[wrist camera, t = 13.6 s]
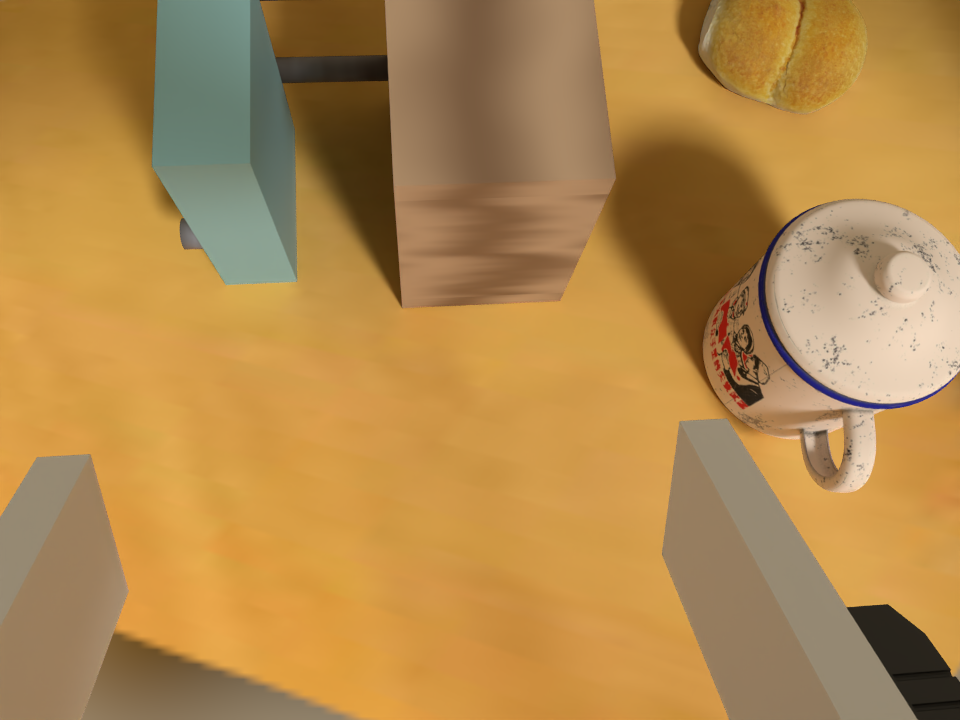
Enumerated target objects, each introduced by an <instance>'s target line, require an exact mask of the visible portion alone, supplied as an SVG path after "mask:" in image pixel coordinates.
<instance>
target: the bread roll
mask: <svg viewBox="0 0 960 720" xmlns="http://www.w3.org/2000/svg"><path fill="white" fill-rule="evenodd" d="M867 45H868V44H867V29H866V26H865V23H864V20H863V18H862V16H861V14H860V12H859V11H858V9H857V8H856V7H855V5H854V4H853V3H852V2H851V0H712V1H711V3H710V5H709V8H708V11H707V14H706V17H705V19H704V22H703V26H702V31H701V34H700V43H699V45H698V52H699V55H700V57H701V59H702V60H703V62H704V63H705V65H706V66H707V67H708V68H709V69H710V71H711V72H712V73H713V74H714V76H715V77H716V78H717V79H718V80H719V81H720V82H721V84H722V85H723V86H724V87H725V88H727V89H729V90H730V91H732V92H734V93H737V94H739V95H741V96H743V97H746V98H749V99H753V100H756V101H758V102H764V103H767V104H769V105H771V106H773V107H775V108H778V109H781V110H784V111H789V112H792V113H797V114H808V113H812V112H815V111H817V110H819V109H821V108H823V107H825V106H827V105H829V104H830V103H832V102H833V101H835V100H836V99H838V98H839V97H841V96H842V95H843V94H844V93H845V92H846V91H847V90H848V89H849V88H850V86H851V85H852V84H853V83H854V82H855V80H856V79H857V77H858V75H859V74H860V71H861V69H862V66H863V63H864V60H865V56H866V52H867Z"/></svg>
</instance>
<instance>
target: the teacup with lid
mask: <svg viewBox="0 0 960 720" xmlns="http://www.w3.org/2000/svg"><path fill="white" fill-rule="evenodd" d="M703 359H704V364H705V369H706V372H707V375H708V378H709V380H710V383H711V385H712V387H713V389H714V391H715V392H716V394H717V396H718V397H719V399H720V400H721V401H722V403H723V404H724V405H725V406H726V407H727V408H728V409H729V411H730V412H732V413H733V414H734V415H735V416H736V417H737V418H738V419H740V420H741V421H742V422H744V423H745V424H747V425H748V426H750V427H752V428H754V429H756V430H758V431H760V432H762V433H765V434H767V435H771V436H774V437H779V438H784V439H800V440H801V448H802V454H803V459H804V462H805V465H806V468H807V470H808V472H809V474H810V476H811V477H812V479H813V480H814V481H815V482H816V483H817V484H818V485H819V486H820V487H822V488H823V489H825V490H828V491H832V492H853V491H856V490H858V489H859V488H861V487H862V486H863V485H864V484H865V483H866V482H867V480H868V478H869V476H870V474H871V471H872V469H873V465H874V461H875V454H876V433H875V423H874V414H876V413H878V412H881V411H883V410H885V409H893V408H900V407H905V406H909V405H913V404H916V403H919V402H921V401H923V400H925V399H928V398H929V397H931V396H933V395H935V394H936V393H938V392H939V391H940V390H942V389H943V388H944V387H946V386H947V385H948V384H949V383H950V382H951V381H952V380H953V379H954V377H955V376H956V375H957V374H958V372H959V371H960V255H959V253H958V252H957V251H956V249H955V248H954V246H953V245H952V244H951V243H950V242H949V241H948V239H947V238H946V237H945V236H944V235H943V234H942V233H941V232H940V231H938V230H937V229H936V228H935V227H934V226H932V225H931V224H930V223H928V222H927V221H925V220H924V219H923V218H921V217H919V216H917V215H916V214H914V213H912V212H910V211H908V210H906V209H903V208H901V207H898V206H896V205H892V204H889V203H886V202H881V201H876V200H867V199H845V200H838V201H833V202H829V203H825V204H822V205H818V206H816V207H813V208H811V209H809V210H807V211H805V212H803V213H801V214H800V215H798V216H797V217H795V218H793V219H792V220H791V221H790V222H789V223H787V224H786V225H785V226H784V227H783V228H782V229H781V230H780V231H779V233H778V234H777V235H776V237H775V238H774V239H773V241H772V242H771V244H770V246H769V247H768V249H767V252H766V254H765V255H764V256H763V257H762V258H761V259H760V260H759V261H758V262H757V263H756V264H755V265H754V266H753V267H752V268H751V269H750V270H749V271H748V272H747V273H746V274H745V275H744V276H743V277H742V278H741V279H740V280H739V281H738V282H737V283H736V284H735V285H734V286H733V287H732V288H731V289H730V290H729V291H728V292H727V293H726V294H725V295H724V296H723V297H722V298H721V299H720V301H719V302H718V303H717V305H716V306H715V308H714V309H713V311H712V313H711V315H710V317H709V319H708V322H707V324H706V327H705V332H704V338H703ZM842 427H843V428H844V454H843V459H842V463H841V466H840V468H839V470H838V469H837V468H836V466H835V464H834V462H833V460H832V457H831V453H830V447H829V440H828V433H830V432H832V431H834V430H837V429H839V428H842Z"/></svg>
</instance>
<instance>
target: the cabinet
mask: <svg viewBox="0 0 960 720" xmlns="http://www.w3.org/2000/svg"><path fill="white" fill-rule="evenodd" d="M260 1H276V0H260ZM385 14H386V35H387V55H373V56H324V57H276V58H275V59H276V62H277V66H278V70H279V73H280V77H281V81H282V83H311V82H354V81H389V99H390V120H391V142H392V163H393V184H394V199H395V213H396V227H397V241H398V255H399V269H400V283H401V297H402V308H412V307H434V306H456V305H479V304H501V303H524V302H546V301H560V300H561V298H562V296H563V293H564V291H565V289H566V287H567V285H568V282H569V280H570V278H571V276H572V274H573V272H574V269H575V267H576V265H577V263H578V261H579V258H580V256H581V254H582V252H583V250H584V248H585V245H586V243H587V241H588V239H589V237H590V234H591V232H592V230H593V228H594V226H595V223H596V221H597V219H598V217H599V215H600V213H601V210H602V208H603V206H604V204H605V202H606V199H607V197H608V195H609V193H610V191H611V189H612V186H613V184H614V182H615V180H616V175H615V167H614V159H613V151H612V143H611V135H610V127H609V119H608V111H607V103H606V95H605V87H604V79H603V71H602V63H601V55H600V47H599V39H598V31H597V23H596V15H595V7H594V0H385Z"/></svg>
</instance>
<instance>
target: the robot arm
mask: <svg viewBox="0 0 960 720" xmlns="http://www.w3.org/2000/svg"><path fill="white" fill-rule="evenodd" d="M662 556H663V558H664V561H665V563H666V565H667V568H668V570H669V573H670V575H671V578H672V580H673V583H674V585H675V587H676V590H677V592H678V595H679V597H680V600H681V602H682V605H683V607H684V610H685V612H686V614H687V617H688V619H689V622H690V624H691V627H692V629H693V632H694V634H695V636H696V639H697V641H698V644H699V646H700V649H701V651H702V654H703V656H704V659H705V661H706V663H707V666H708V668H709V671H710V673H711V676H712V678H713V681H714V683H715V685H716V688H717V690H718V693H719V695H720V698H721V700H722V703H723V705H724V708H725V710H726V712H727V715H728V717H729V720H960V682H959V680H958V679H957V678H956V677H952V675H951V672H950V671H951V669H950V668H949V667H948V665H947V664H946V662H945V661H944V660H943V658H942V657H941V655H940V654H939V653H938V651H937V650H936V648H935V647H934V646H933V644H932V643H931V641H930V640H929V639H928V637H927V636H926V634H925V633H923V632H922V631H921V630H920V629H918V628H917V627H916V626H915V625H913V624H912V623H911V622H910V621H908V620H907V619H906V618H904V617H903V616H902V615H901V614H899V613H898V612H897V611H896V610H894V609H893V608H892V607H891V606H889V605H888V604H886V605H872V606H859V607H846V606H845V604H844V603H843V601H842V600H841V598H840V596H839V595H838V593H837V592H836V590H835V588H834V587H833V585H832V584H831V582H830V581H829V579H828V577H827V576H826V574H825V573H824V571H823V570H822V568H821V566H820V565H819V563H818V562H817V560H816V558H815V557H814V555H813V554H812V552H811V551H810V549H809V547H808V546H807V544H806V543H805V541H804V540H803V538H802V536H801V535H800V533H799V532H798V530H797V528H796V527H795V525H794V524H793V522H792V521H791V519H790V517H789V516H788V514H787V513H786V511H785V510H784V508H783V506H782V505H781V503H780V502H779V500H778V499H777V497H776V495H775V494H774V492H773V491H772V489H771V487H770V486H769V484H768V483H767V481H766V480H765V478H764V476H763V475H762V473H761V472H760V470H759V469H758V467H757V465H756V464H755V462H754V461H753V459H752V457H751V456H750V454H749V453H748V451H747V450H746V448H745V446H744V445H743V443H742V442H741V440H740V439H739V437H738V435H737V434H736V432H735V431H734V429H733V427H732V426H731V424H730V423H729V421H728V420H727V419H711V420H693V421H680V422H679V430H678V437H677V445H676V452H675V460H674V467H673V475H672V482H671V490H670V497H669V505H668V512H667V520H666V527H665V535H664V542H663V550H662ZM128 591H129V590H128V587H127V583H126V580H125V576H124V573H123V569H122V565H121V562H120V558H119V555H118V551H117V548H116V544H115V540H114V537H113V533H112V530H111V526H110V523H109V519H108V515H107V512H106V508H105V505H104V501H103V498H102V494H101V490H100V487H99V483H98V480H97V476H96V473H95V469H94V465H93V462H92V458H91V455H90V454H88V455H71V456H53V457H37V458H36V460H35V462H34V463H33V465H32V467H31V468H30V470H29V471H28V473H27V475H26V476H25V478H24V480H23V481H22V483H21V484H20V486H19V488H18V489H17V491H16V493H15V494H14V496H13V498H12V499H11V501H10V502H9V504H8V506H7V507H6V509H5V511H4V512H3V514H2V515H1V517H0V720H81V719H82V716H83V714H84V711H85V708H86V705H87V702H88V700H89V697H90V695H91V692H92V689H93V686H94V684H95V681H96V678H97V676H98V673H99V670H100V667H101V665H102V662H103V659H104V657H105V654H106V651H107V648H108V646H109V643H110V640H111V637H112V635H113V632H114V629H115V627H116V624H117V621H118V618H119V616H120V613H121V610H122V608H123V605H124V602H125V599H126V597H127V594H128Z"/></svg>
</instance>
